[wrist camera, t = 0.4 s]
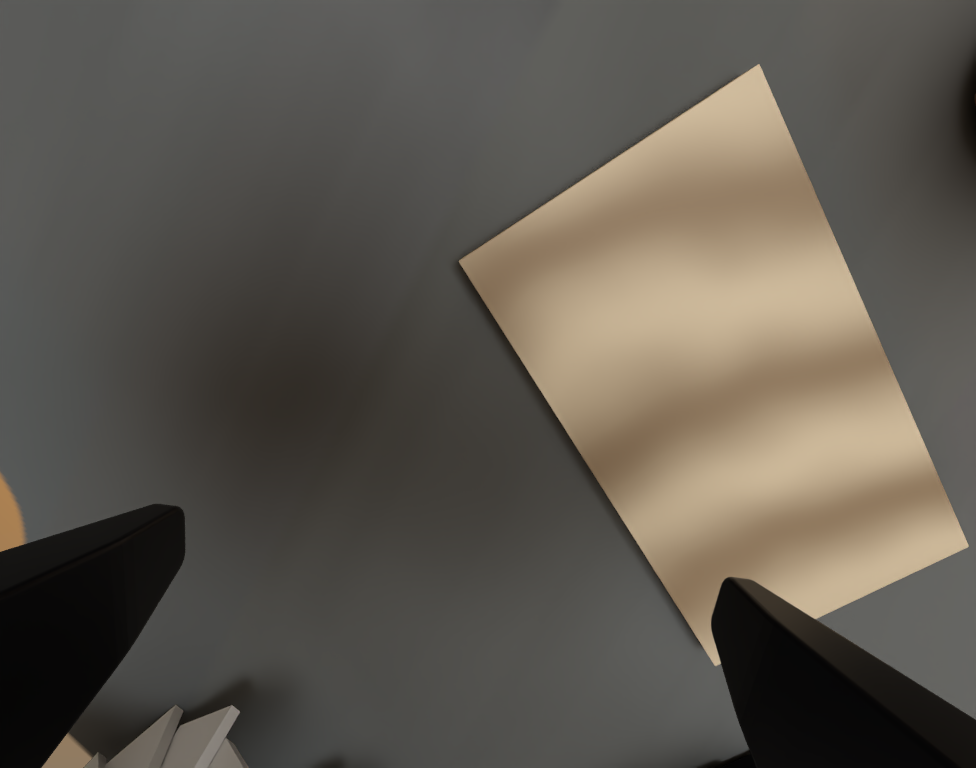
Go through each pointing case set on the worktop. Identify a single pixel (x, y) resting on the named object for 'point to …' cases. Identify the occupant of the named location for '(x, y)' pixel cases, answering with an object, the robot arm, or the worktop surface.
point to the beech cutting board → (721, 366)
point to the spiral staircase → (180, 744)
